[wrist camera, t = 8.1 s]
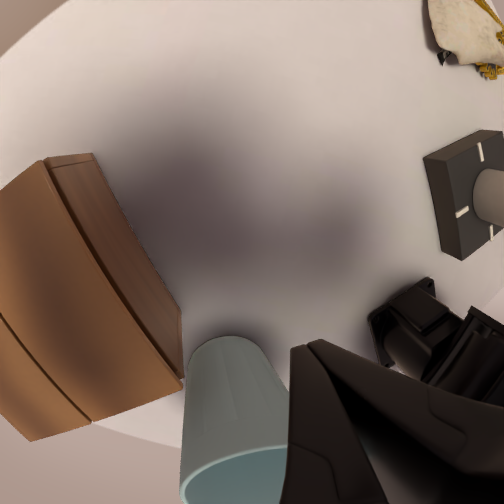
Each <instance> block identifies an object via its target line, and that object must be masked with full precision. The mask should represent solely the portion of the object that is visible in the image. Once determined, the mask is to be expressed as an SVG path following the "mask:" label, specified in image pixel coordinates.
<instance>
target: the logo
mask: <svg viewBox="0 0 504 504" xmlns="http://www.w3.org/2000/svg"><path fill="white" fill-rule="evenodd" d="M474 1H475V2H476V3H477V4H478V5H479V6H480V7H481V8H482V9H483V10H485V11H486V12H487V13H489V15H490V16H491V17H492V18H493V19H494V21H495V22H497V23H498V24H499V25H500V26H501V27H502V30H501V31H500V32H497V33H496V38H497V40H498V41H499V42H500V43H501V44H502V45H504V25H503V24H502V22H501V21H500V20H499V18H498V17H497V16H496V14H495V13H494V12H493V10H492V9H491V8H490V6H489V5H488V4H487V3H486V1H485V0H474ZM476 65H481V66H480V71H481V72H484V75H485V77H489V79H490V80H494V79H497V75H502V74H504V67H501V66H499V65H496V64H493V63H482V62H477V63H476ZM496 68H497V69H496Z"/></svg>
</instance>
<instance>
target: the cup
mask: <svg viewBox="0 0 504 504" xmlns="http://www.w3.org/2000/svg"><path fill="white" fill-rule="evenodd" d="M288 417H289V392H288V390H287V389H286V387H285V386H284V384H283V382H282V381H281V379H280V378H279V376H278V375H277V373H276V372H275V370H274V369H273V367H272V366H271V364H270V363H269V361H268V359H267V358H266V356H265V355H264V353H263V352H262V350H261V349H260V348H259V346H258V345H256V344H255V343H253V342H252V341H250V340H248V339H246V338H243V337H237V336H223V337H219V338H215V339H212V340H209V341H207V342H206V343H204V344H203V345H202V346H200V347H199V348H198V349H197V350H196V351H195V352H194V353H193V355H192V357H191V360H190V362H189V365H188V373H187V383H186V394H185V406H184V420H183V435H182V451H181V466H180V488H179V494H180V498H181V500H182V502H183V503H184V504H279V501H280V497H281V492H282V487H283V482H284V477H285V468H286V458H287V444H288Z"/></svg>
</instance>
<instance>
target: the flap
mask: <svg viewBox="0 0 504 504" xmlns="http://www.w3.org/2000/svg"><path fill="white" fill-rule="evenodd" d="M0 312H1V314H2V315H3V317H4V318H5V320H6V321H7V323H8V324H9V325H10V327H11V328H12V330H13V331H14V332H15V334H16V335H17V336H18V338H19V339H20V340H21V342H22V343H23V344H24V346H25V347H26V348H27V349H28V351H29V352H30V353H31V355H32V356H33V357H34V358H35V359H36V361H37V362H38V363H39V364H40V366H41V367H42V368H43V369H44V370H45V371H46V373H47V374H48V375H49V376H50V377H51V378H52V379H53V381H54V382H55V383H56V384H57V385H58V386H59V387H60V388H61V389H62V390H63V392H64V393H65V394H66V395H67V396H68V397H69V398H70V399H71V400H72V401H73V402H74V403H75V404H76V405H77V406H78V407H79V408H80V409H81V410H82V411H83V412H84V413H85V414H86V415H87V416H88V417H89V418H90V419H91V420H92V421H93V422H95V421H99V420H102V419H105V418H107V417H110V416H113V415H116V414H119V413H122V412H125V411H127V410H130V409H133V408H136V407H138V406H141V405H144V404H146V403H149V402H152V401H154V400H157V399H159V398H162V397H165V396H167V395H170V394H172V393H175V392H177V391H179V390H182V389H183V383H182V382H181V381H180V380H179V378H178V377H177V376H176V375H175V373H174V372H173V371H172V370H171V368H170V367H169V366H168V365H167V363H166V362H165V361H164V359H163V358H162V357H161V355H160V354H159V353H158V352H157V350H156V349H155V348H154V346H153V345H152V344H151V342H150V341H149V339H148V338H147V337H146V335H145V334H144V333H143V331H142V330H141V328H140V327H139V326H138V324H137V323H136V321H135V320H134V319H133V317H132V316H131V314H130V313H129V311H128V310H127V308H126V307H125V306H124V304H123V303H122V301H121V300H120V298H119V297H118V295H117V294H116V292H115V291H114V289H113V287H112V286H111V284H110V283H109V281H108V280H107V278H106V277H105V275H104V273H103V272H102V270H101V269H100V267H99V265H98V264H97V262H96V260H95V259H94V257H93V255H92V254H91V252H90V250H89V249H88V247H87V245H86V244H85V242H84V240H83V238H82V237H81V235H80V233H79V231H78V230H77V228H76V226H75V224H74V222H73V221H72V219H71V217H70V215H69V213H68V211H67V209H66V207H65V206H64V204H63V202H62V200H61V198H60V196H59V194H58V192H57V190H56V188H55V186H54V184H53V182H52V180H51V178H50V176H49V174H48V172H47V169H46V167H45V165H44V163H43V161H42V160H39V161H37V162H35V163H34V164H33V165H31V166H30V167H29V168H27V169H26V170H25V171H23V172H22V173H21V174H20V175H18V176H17V177H16V178H15V179H13V180H12V181H11V182H10V183H9V184H7V185H6V186H5V187H4V188H3V189H1V190H0Z"/></svg>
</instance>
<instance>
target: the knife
mask: <svg viewBox="0 0 504 504" xmlns="http://www.w3.org/2000/svg"><path fill="white" fill-rule="evenodd" d="M451 53H452V52H451V51H448V50H445V49H442V50H441V51H440V53H439V54H438V57H439V60H440V62H441V64H442V66H443V63H444V61H445V59H446V58H447V57H448V56H449V55H450V54H451Z"/></svg>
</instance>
